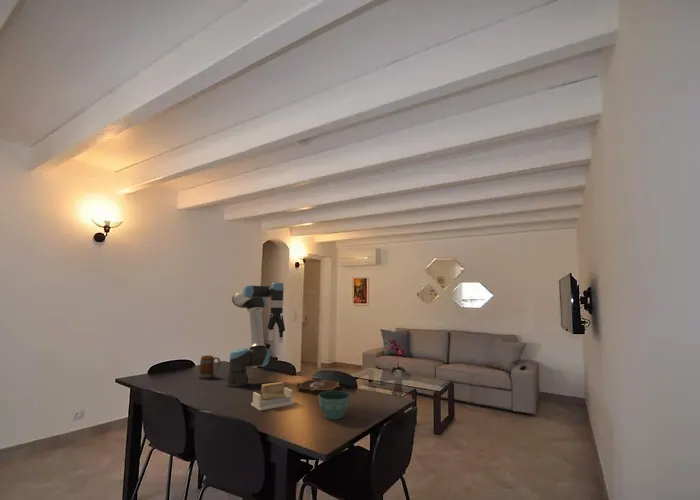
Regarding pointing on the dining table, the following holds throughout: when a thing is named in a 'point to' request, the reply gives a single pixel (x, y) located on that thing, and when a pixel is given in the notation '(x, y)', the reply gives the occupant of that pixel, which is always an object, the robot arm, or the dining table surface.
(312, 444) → the dining table surface
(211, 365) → the mug
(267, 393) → the door panel
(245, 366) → the robot arm
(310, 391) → the decorative plaque
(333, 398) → the flower pot
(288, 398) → the track
